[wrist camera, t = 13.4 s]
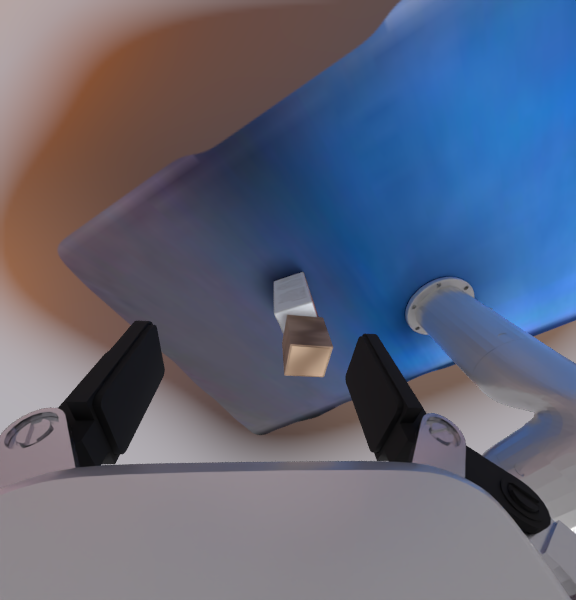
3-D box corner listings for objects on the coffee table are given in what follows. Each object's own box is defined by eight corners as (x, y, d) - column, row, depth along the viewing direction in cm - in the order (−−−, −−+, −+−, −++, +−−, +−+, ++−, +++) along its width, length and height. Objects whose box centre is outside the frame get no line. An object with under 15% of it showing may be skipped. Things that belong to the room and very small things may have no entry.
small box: (315, 307, 44) (327, 345, 35) (287, 316, 44) (291, 355, 35) (303, 270, 40) (313, 301, 31) (272, 280, 40) (273, 313, 31)
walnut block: (322, 317, 32) (333, 347, 27) (315, 345, 35) (323, 377, 29) (287, 314, 32) (290, 344, 26) (282, 343, 34) (284, 375, 29)
